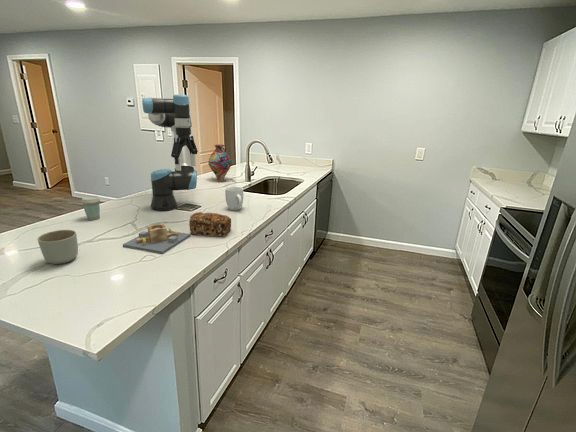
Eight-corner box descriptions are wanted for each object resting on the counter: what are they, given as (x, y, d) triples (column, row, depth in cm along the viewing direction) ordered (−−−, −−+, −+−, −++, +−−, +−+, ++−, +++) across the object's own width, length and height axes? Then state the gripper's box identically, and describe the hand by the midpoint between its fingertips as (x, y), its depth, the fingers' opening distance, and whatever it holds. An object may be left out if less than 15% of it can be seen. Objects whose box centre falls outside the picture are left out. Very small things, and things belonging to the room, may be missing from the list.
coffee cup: (106, 217, 176) (102, 196, 172) (91, 222, 168) (87, 200, 164) (96, 215, 179) (92, 194, 175) (81, 219, 172) (76, 198, 168)
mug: (249, 211, 193) (249, 191, 189) (232, 214, 187) (232, 193, 183) (239, 205, 205) (238, 185, 201) (223, 207, 199) (222, 187, 195)
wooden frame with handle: (138, 245, 140) (136, 233, 138) (136, 239, 146) (134, 227, 144) (179, 238, 149) (178, 226, 147) (176, 233, 155) (175, 221, 153)
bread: (189, 234, 157) (187, 215, 154) (198, 227, 167) (196, 209, 164) (225, 238, 155) (224, 218, 151) (232, 230, 165) (231, 212, 161)
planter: (39, 269, 120) (33, 243, 117) (48, 256, 131) (42, 231, 127) (78, 264, 125) (72, 239, 121) (83, 251, 136) (78, 228, 132)
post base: (123, 246, 141) (121, 233, 139) (154, 230, 160) (153, 219, 158) (163, 254, 136) (161, 240, 134) (190, 236, 155) (189, 224, 153)
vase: (210, 178, 275) (209, 143, 265) (232, 178, 277) (231, 143, 267) (207, 183, 257) (205, 146, 248) (231, 183, 260) (230, 146, 250)
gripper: (174, 128, 149) (178, 173, 156) (202, 126, 172) (204, 165, 179) (160, 127, 151) (165, 171, 158) (190, 125, 174) (193, 163, 181)
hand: (186, 168), depth 169 cm, fingers open, 13 cm apart
